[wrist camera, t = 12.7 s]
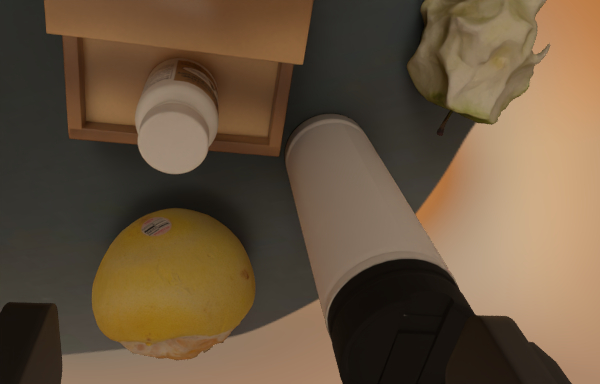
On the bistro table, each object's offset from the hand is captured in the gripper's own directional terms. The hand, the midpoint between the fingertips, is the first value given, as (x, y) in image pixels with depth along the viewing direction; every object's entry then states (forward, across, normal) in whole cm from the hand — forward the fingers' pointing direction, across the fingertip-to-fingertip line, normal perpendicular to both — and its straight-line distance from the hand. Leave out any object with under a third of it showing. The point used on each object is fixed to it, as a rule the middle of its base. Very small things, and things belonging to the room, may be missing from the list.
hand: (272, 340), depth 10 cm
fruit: (+26, +2, +17) cm, 31 cm away
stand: (+26, +3, +1) cm, 26 cm away
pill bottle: (+24, +3, +4) cm, 25 cm away
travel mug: (+26, -8, +8) cm, 28 cm away
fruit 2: (+27, -16, -2) cm, 31 cm away
